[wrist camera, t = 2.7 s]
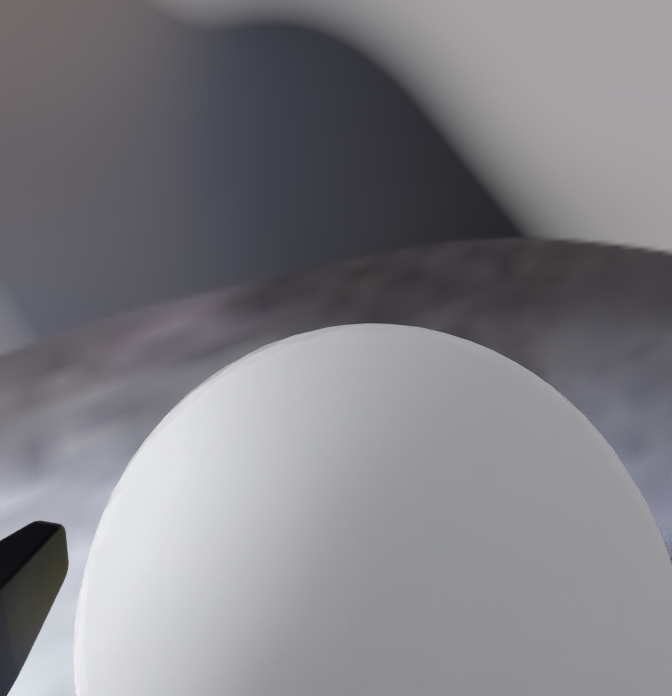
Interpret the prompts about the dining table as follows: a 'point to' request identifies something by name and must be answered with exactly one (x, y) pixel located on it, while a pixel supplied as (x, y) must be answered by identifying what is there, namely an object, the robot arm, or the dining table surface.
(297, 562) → the supplement bottle
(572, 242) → the dining table surface
